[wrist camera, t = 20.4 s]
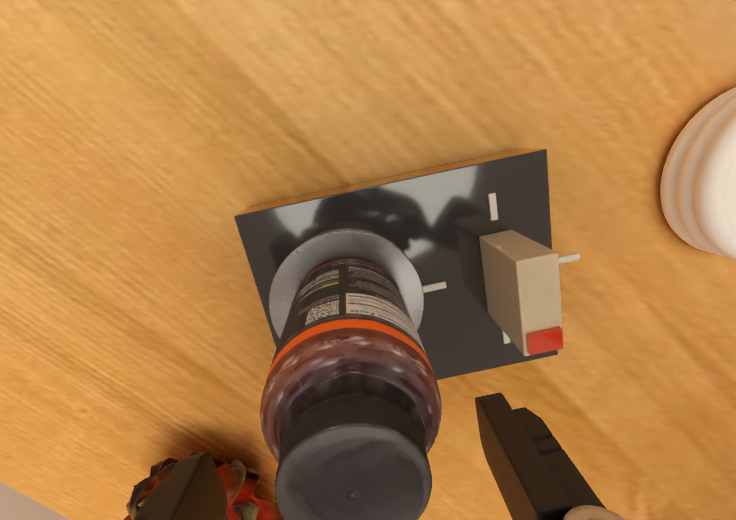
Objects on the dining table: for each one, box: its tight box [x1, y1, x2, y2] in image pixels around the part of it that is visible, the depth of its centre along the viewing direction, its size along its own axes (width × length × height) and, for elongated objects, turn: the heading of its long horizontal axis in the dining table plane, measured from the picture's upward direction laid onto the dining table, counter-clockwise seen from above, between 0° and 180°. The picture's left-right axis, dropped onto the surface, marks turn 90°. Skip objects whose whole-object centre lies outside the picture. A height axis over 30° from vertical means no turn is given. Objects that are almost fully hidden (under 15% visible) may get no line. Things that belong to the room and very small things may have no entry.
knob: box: [479, 230, 563, 356], centre depth 18 cm, size 5×2×5 cm, turn 12°
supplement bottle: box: [260, 258, 441, 520], centre depth 14 cm, size 6×6×11 cm
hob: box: [234, 149, 580, 380], centre depth 21 cm, size 17×12×3 cm
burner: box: [269, 230, 424, 339], centre depth 20 cm, size 8×8×1 cm
